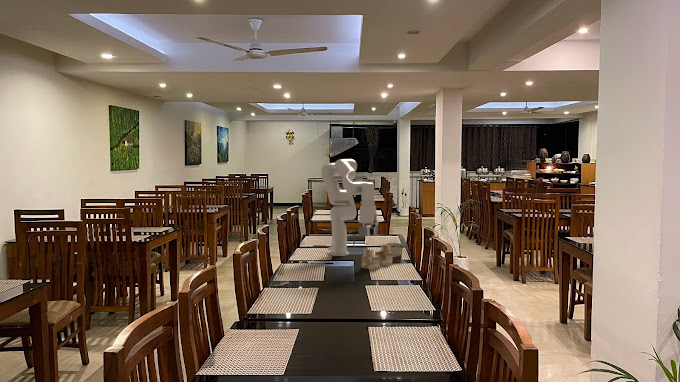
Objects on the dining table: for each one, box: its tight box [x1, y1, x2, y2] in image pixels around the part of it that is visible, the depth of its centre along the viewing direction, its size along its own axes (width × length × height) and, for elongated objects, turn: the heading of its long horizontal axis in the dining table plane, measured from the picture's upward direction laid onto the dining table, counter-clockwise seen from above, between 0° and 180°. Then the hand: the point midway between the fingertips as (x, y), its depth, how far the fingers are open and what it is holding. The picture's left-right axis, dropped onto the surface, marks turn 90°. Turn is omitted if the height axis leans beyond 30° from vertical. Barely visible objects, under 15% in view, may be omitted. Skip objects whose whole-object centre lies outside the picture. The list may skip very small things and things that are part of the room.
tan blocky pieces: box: [361, 243, 393, 271], centre depth 295 cm, size 8×19×11 cm, turn 141°
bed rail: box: [358, 224, 379, 237], centre depth 297 cm, size 4×14×5 cm, turn 141°
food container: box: [384, 242, 404, 262], centre depth 310 cm, size 12×6×10 cm, turn 84°
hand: (368, 234), depth 297 cm, fingers closed on bed rail, 4 cm apart
